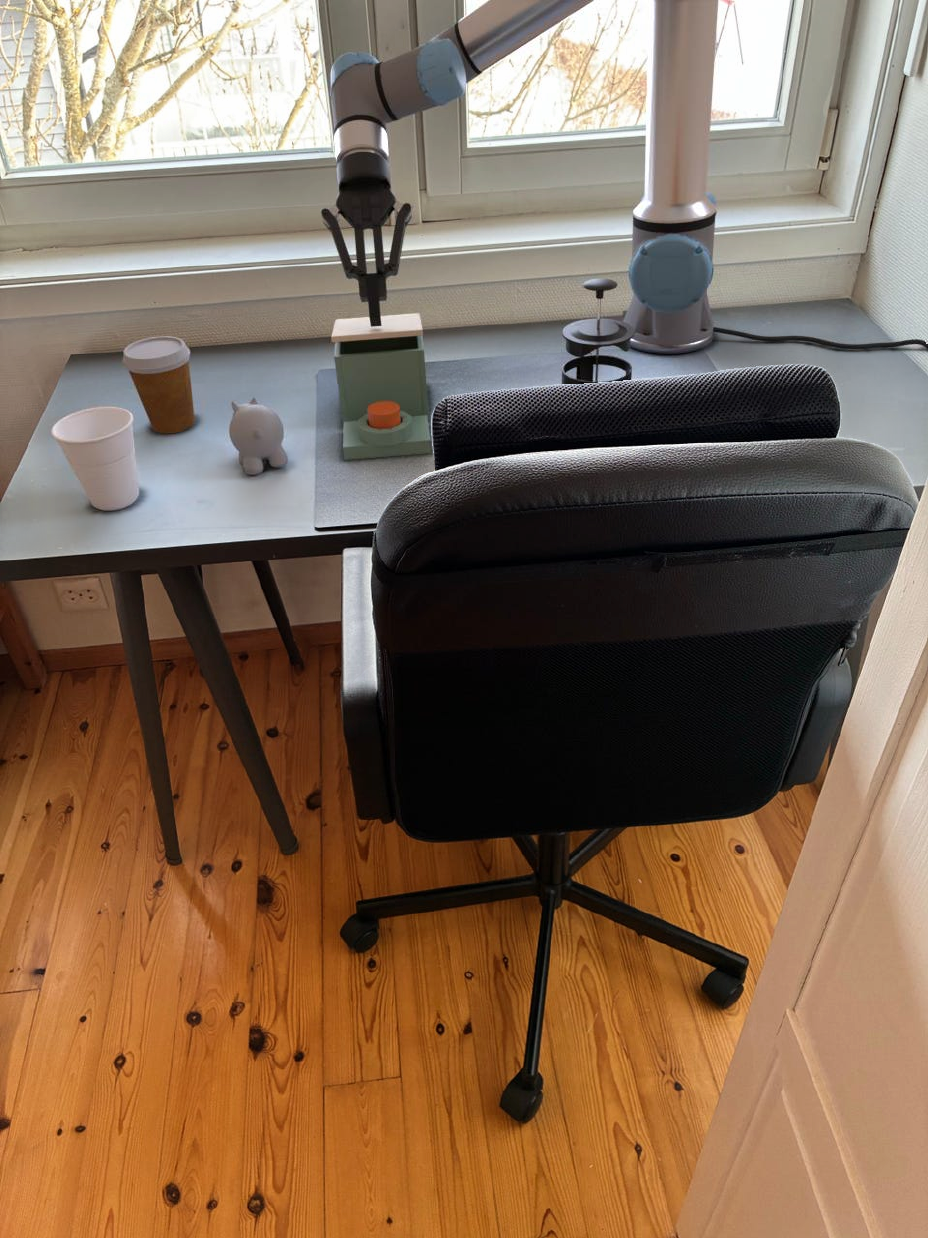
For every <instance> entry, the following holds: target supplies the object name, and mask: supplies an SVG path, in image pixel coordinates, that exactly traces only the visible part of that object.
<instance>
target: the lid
mask: <svg viewBox="0 0 928 1238" xmlns="http://www.w3.org/2000/svg"><path fill="white" fill-rule="evenodd" d="M421 318H422V317H421V313H420V312H417V313H416V312H415V313H414V312H413V313H402V314H388V315H381V326H374V327H371V324H370V318H369V316H365V317H363V316H362V317H351V318H349V317H348V318H337V319H335V322H334V325H333V328H332V333H331V336H330V339H331V343H335V342H343V341H356V340H369V339H382V338H396V337H409V336H422V337H423V336H424V330H423V325H422V324H423V323H422V320H421Z"/></svg>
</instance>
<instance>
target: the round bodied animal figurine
mask: <svg viewBox="0 0 928 1238" xmlns="http://www.w3.org/2000/svg"><path fill="white" fill-rule="evenodd" d="M231 409H232V411H233V413H232V417H231V420H230V423H229V426H228V427H229V428H228V434H229V439H230V442H231V443H232V445H233V447H234V448H235V449H236V451H237V452H238V462H239V465H240V466H242V468H243V471H244V473H245V474H247V475H252V476H255V475H259V474H261V473H262V472H263V471H264V464H267V461H268V462H269V465H270V466H271V467H272V468H283V467H285V466H286V465H287V464H288V462H289V458H288V454H287V452H286V450H285V448H284V447H283V445H282V443H283V441H284V438H285V437H284V435H285V432H284V431H285V430H284V429H285V428H284V425H283V422H282V420H281V418H280V416H279V415H278V414H277V413H276V411H274V410H273V409H271V408H270V407H268V406H266V405H263V404H258V400H257V397H253V398H252V399H251V400H250V402H249V403H248V402H247V403H240V404H238V403H237V402H235V401H231Z"/></svg>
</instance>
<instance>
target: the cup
mask: <svg viewBox="0 0 928 1238" xmlns="http://www.w3.org/2000/svg"><path fill="white" fill-rule="evenodd" d="M133 422H134V415H133V414H132V412H131V411H129V410H128V409H125V408H122V407H117V406H98V407H97V406H96V407H91V408H87V409H82V410H78V411H75V412H73V413H70V414H68V415H65V416H64V417H62V418H60V419H59V420H58V421H56V423H54V424H53V426H52V427H51V430H50V434H51V436H52V438H53V439H54V440H56V442H57V444H58V446H59V447H60V449H61V451H62V453H63V455H64V456H65V458H66V460H67V462H68V464H69V465H70V467H71V470H72V471H73V473H74V475H75V477H76V478H77V480H78V481H79V484H80V485H81V487H82V489H83V491H84V493H85V495H86V497H87V498H88V500H89V502H90V504H91V505H92V507H94V508H96V509H98V510H100V511H110V512H111V511H117V510H122V509H124V508H128V507H129V506H131V505H133V504H134V503H135V502H136V501H137V500H138V498H139V496H140V487H139V485H140V484H139V477H138V467H137V460H136V450H135V439H134V427H133Z"/></svg>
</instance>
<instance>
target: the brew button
mask: <svg viewBox="0 0 928 1238" xmlns="http://www.w3.org/2000/svg"><path fill="white" fill-rule="evenodd" d="M367 410H368V419H369V425H370V427H372V428H376V429H388V428H393V427H395V426H398V425H399V424H400V423H401V418H400V408H399V405H398V404H397V403H395V402H391V401H380V402H376V403H373V404H371V405H370V406H369V407H368V409H367Z"/></svg>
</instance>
